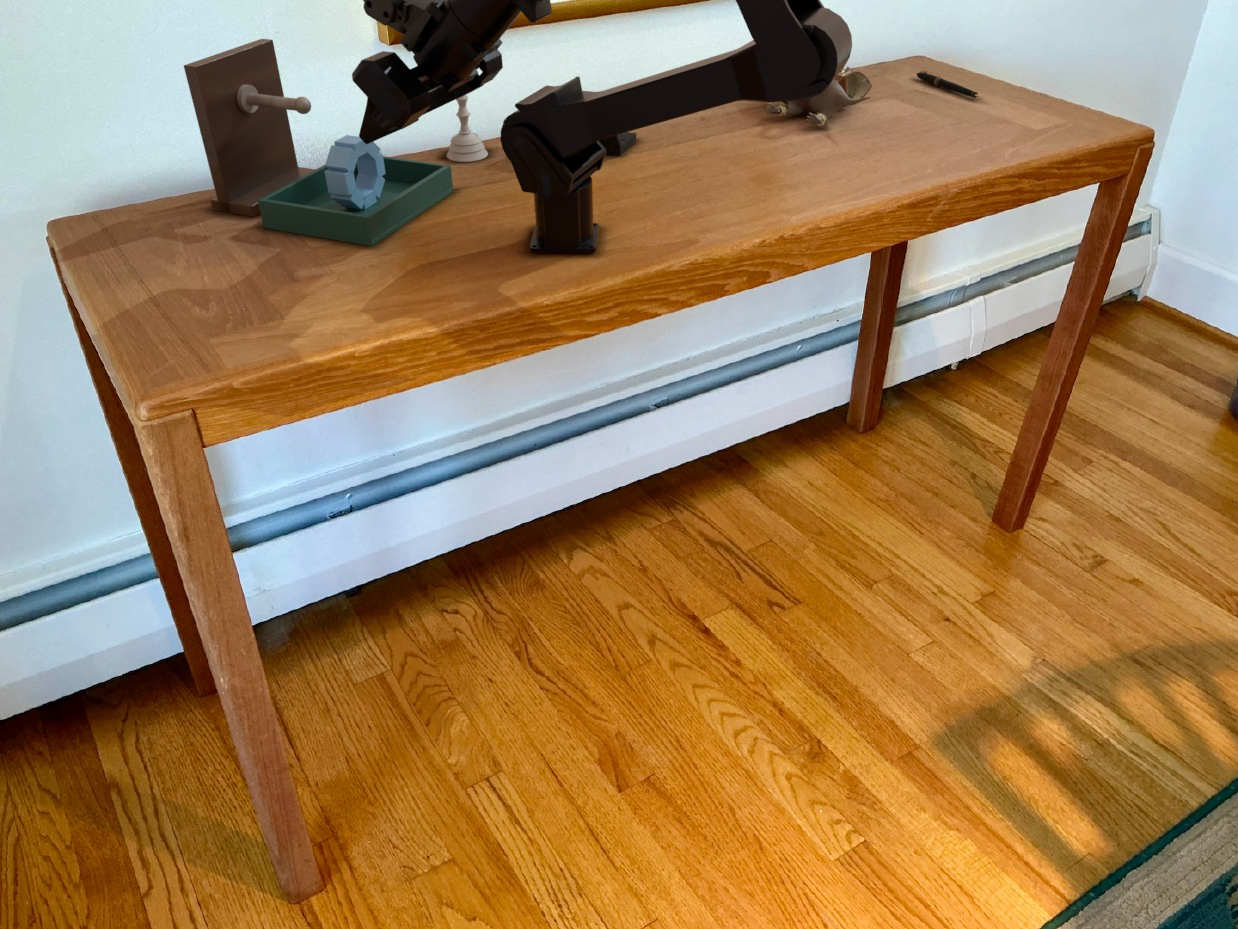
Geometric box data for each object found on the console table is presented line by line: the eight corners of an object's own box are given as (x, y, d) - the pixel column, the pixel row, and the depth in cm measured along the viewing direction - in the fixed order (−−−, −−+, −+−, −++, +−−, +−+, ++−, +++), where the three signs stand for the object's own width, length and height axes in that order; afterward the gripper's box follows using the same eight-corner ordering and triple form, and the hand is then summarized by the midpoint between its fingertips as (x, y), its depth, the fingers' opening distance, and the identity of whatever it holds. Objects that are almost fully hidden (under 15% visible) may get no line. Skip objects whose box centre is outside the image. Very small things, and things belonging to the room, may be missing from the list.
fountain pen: (986, 102, 137) (988, 91, 136) (980, 103, 137) (982, 92, 136) (918, 77, 148) (920, 67, 147) (912, 78, 147) (913, 67, 146)
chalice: (441, 145, 123) (423, -12, 113) (496, 144, 124) (483, -14, 113) (437, 165, 118) (417, 1, 107) (494, 163, 118) (480, -1, 107)
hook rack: (359, 185, 112) (336, 45, 104) (293, 223, 103) (262, 73, 95) (282, 174, 116) (253, 37, 107) (212, 210, 107) (175, 64, 98)
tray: (453, 191, 111) (450, 164, 109) (372, 246, 98) (367, 217, 97) (353, 176, 115) (349, 151, 113) (263, 227, 102) (257, 200, 101)
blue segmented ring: (389, 195, 108) (379, 130, 104) (352, 217, 103) (340, 150, 99) (369, 192, 109) (359, 128, 105) (332, 214, 104) (320, 148, 100)
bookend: (639, 121, 125) (619, 68, 116) (635, 170, 123) (615, 121, 114) (552, 129, 128) (527, 78, 119) (547, 177, 126) (520, 130, 117)
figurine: (723, 69, 132) (792, 47, 142) (723, 116, 135) (790, 91, 146) (858, 85, 120) (921, 59, 131) (853, 136, 124) (916, 107, 134)
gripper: (464, -73, 95) (383, 41, 105) (352, -41, 81) (271, 86, 91) (542, 21, 97) (456, 123, 107) (447, 67, 83) (358, 180, 93)
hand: (389, 126), depth 100 cm, fingers open, 9 cm apart
